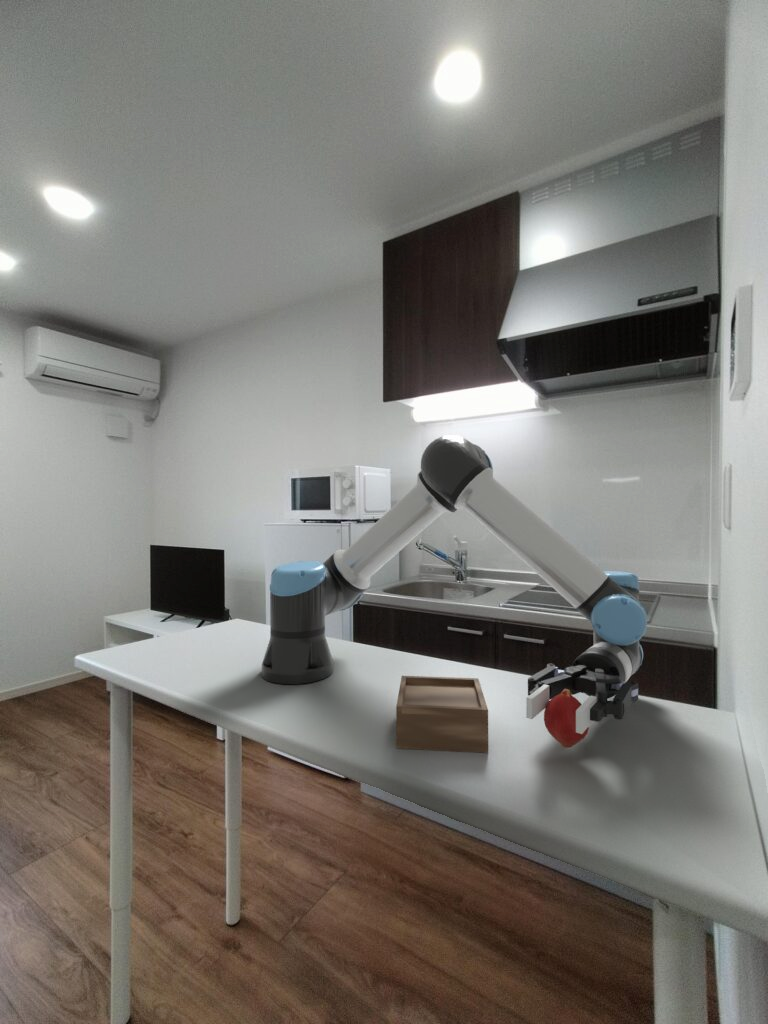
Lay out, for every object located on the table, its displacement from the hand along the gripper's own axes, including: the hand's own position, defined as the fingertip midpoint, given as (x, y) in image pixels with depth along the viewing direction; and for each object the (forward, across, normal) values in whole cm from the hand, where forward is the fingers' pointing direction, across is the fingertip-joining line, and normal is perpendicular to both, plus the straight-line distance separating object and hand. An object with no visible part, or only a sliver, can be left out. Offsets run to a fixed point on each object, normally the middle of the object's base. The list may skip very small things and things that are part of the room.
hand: (553, 715), depth 59 cm
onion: (-5, 0, -6) cm, 8 cm away
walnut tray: (-1, +18, -8) cm, 20 cm away
